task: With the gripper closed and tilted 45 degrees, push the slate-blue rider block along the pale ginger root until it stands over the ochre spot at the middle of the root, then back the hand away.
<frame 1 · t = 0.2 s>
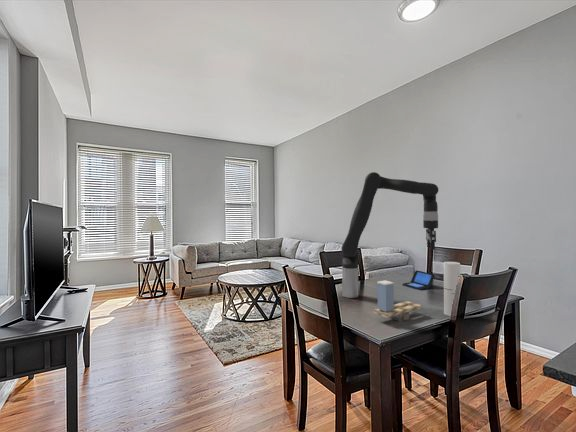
hand: (430, 248, 170), 29 cm above the table, tool pointing down, fingers open, 8 cm apart
handheld game console: (418, 287, 201), on the table
rider: (385, 297, 140), point 11 cm above the table, slide at -8.0 cm
cylindrical container: (452, 314, 148), on the table
ginger root: (397, 317, 144), on the table
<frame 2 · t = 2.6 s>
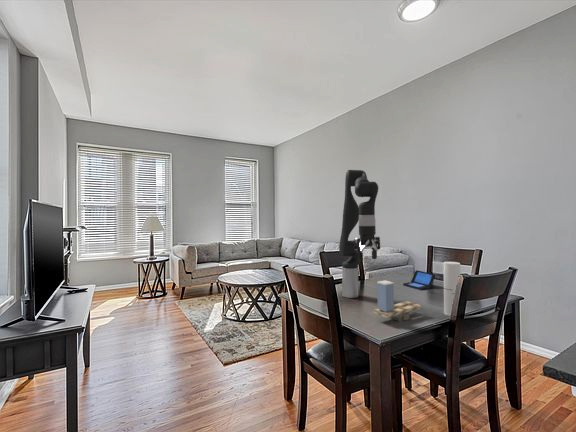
hand: (367, 259, 141), 28 cm above the table, tool pointing down, fingers open, 8 cm apart
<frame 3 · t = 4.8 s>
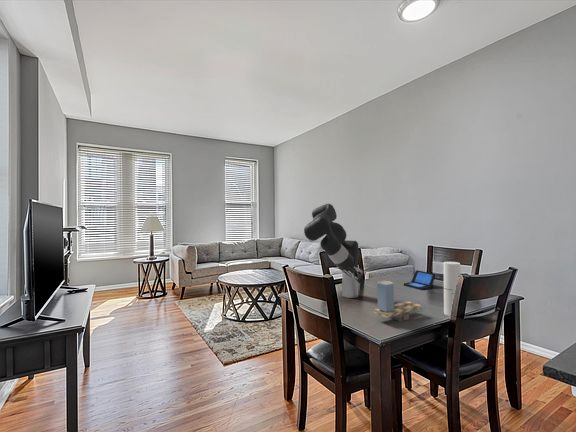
hand: (362, 282, 132), 20 cm above the table, tool tilted 45°, fingers closed
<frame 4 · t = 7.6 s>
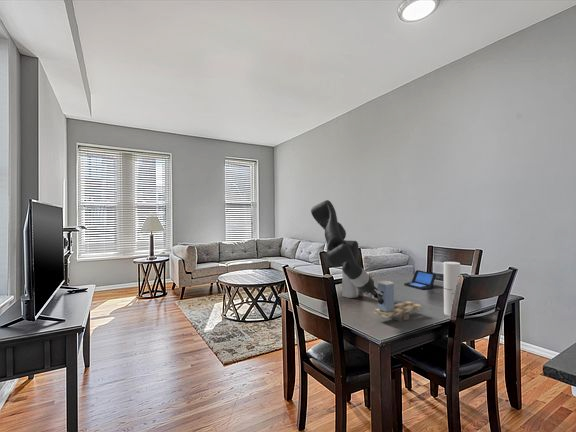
hand: (381, 302, 138), 9 cm above the table, tool tilted 45°, fingers closed
rider: (385, 297, 140), point 11 cm above the table, slide at -7.9 cm, touching gripper
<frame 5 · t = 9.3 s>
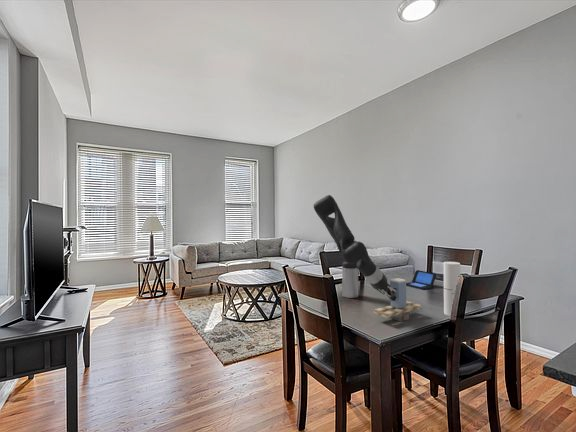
hand: (394, 299, 142), 9 cm above the table, tool tilted 45°, fingers closed
rider: (398, 294, 144), point 11 cm above the table, slide at 0.5 cm, touching gripper
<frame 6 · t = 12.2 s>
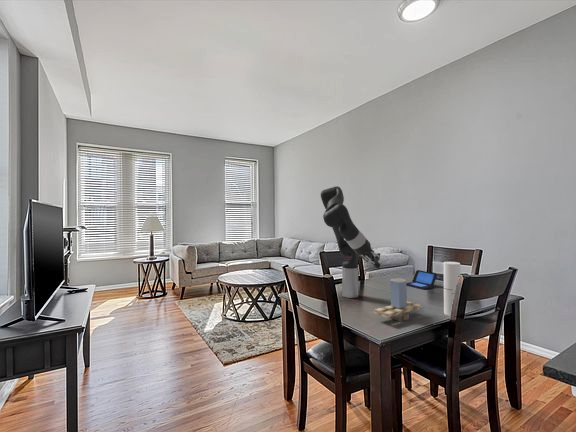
hand: (378, 266, 138), 26 cm above the table, tool tilted 45°, fingers closed
rider: (398, 294, 144), point 11 cm above the table, slide at 0.8 cm
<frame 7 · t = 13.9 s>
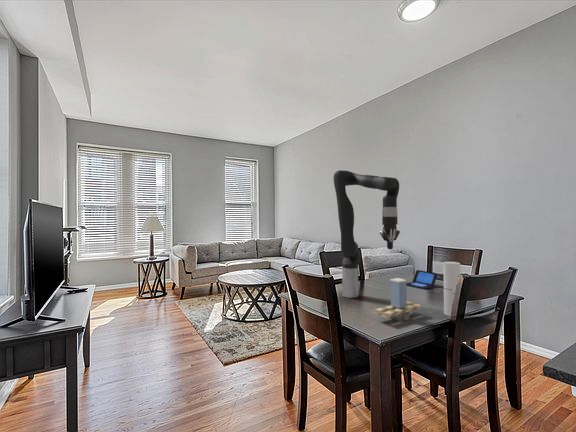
hand: (390, 248, 158), 31 cm above the table, tool pointing down, fingers closed
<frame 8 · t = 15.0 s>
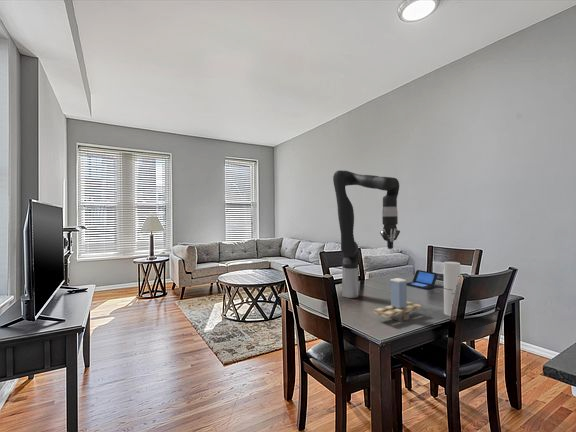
hand: (390, 248, 158), 31 cm above the table, tool pointing down, fingers closed
at the end: rider slide at 0.8 cm; rider 0.8 cm from the target spot, resting on ginger root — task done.
